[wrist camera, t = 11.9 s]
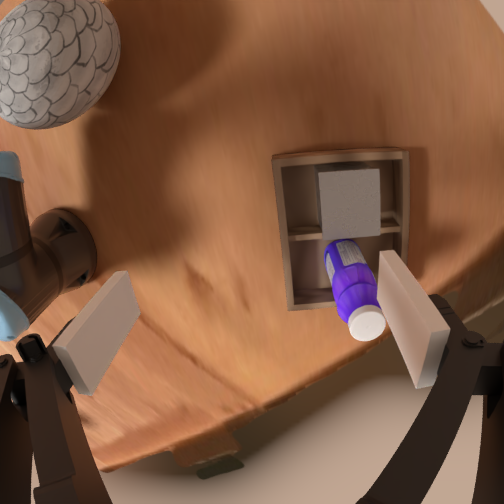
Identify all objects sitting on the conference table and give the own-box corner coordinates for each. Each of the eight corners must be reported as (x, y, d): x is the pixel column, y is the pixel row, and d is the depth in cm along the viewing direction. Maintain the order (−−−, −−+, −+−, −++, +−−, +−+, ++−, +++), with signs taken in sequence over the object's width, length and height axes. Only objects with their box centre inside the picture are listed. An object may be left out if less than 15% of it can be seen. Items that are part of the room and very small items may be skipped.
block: (316, 221, 46) (323, 240, 39) (311, 163, 43) (318, 172, 36) (366, 217, 45) (380, 235, 38) (363, 160, 42) (379, 168, 35)
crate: (287, 293, 52) (287, 311, 48) (272, 155, 44) (271, 159, 39) (394, 283, 50) (403, 298, 45) (396, 147, 41) (409, 151, 37)
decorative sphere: (123, 134, 44) (38, 153, 25) (32, 114, 43) (-54, 129, 24) (161, 12, 36) (93, -37, 17) (61, 8, 35) (-19, -15, 16)
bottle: (364, 272, 49) (396, 343, 33) (330, 283, 50) (348, 357, 34) (354, 230, 46) (389, 290, 30) (318, 241, 47) (336, 306, 31)
